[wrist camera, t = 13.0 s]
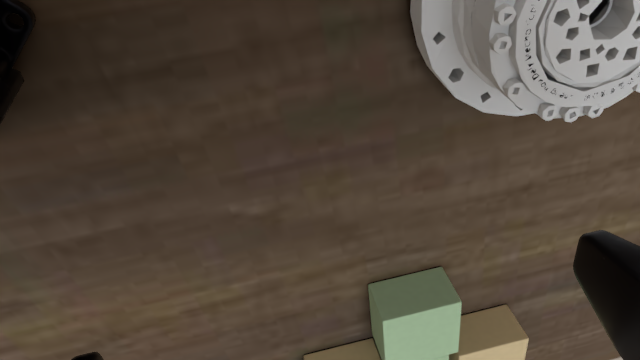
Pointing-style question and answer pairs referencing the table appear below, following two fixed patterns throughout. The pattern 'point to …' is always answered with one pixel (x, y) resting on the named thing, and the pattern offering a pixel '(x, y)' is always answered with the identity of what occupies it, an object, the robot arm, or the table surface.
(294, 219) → the table surface
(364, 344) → the dock pad
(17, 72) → the robot arm
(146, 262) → the table surface
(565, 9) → the mechanical component
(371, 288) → the pad
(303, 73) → the table surface
